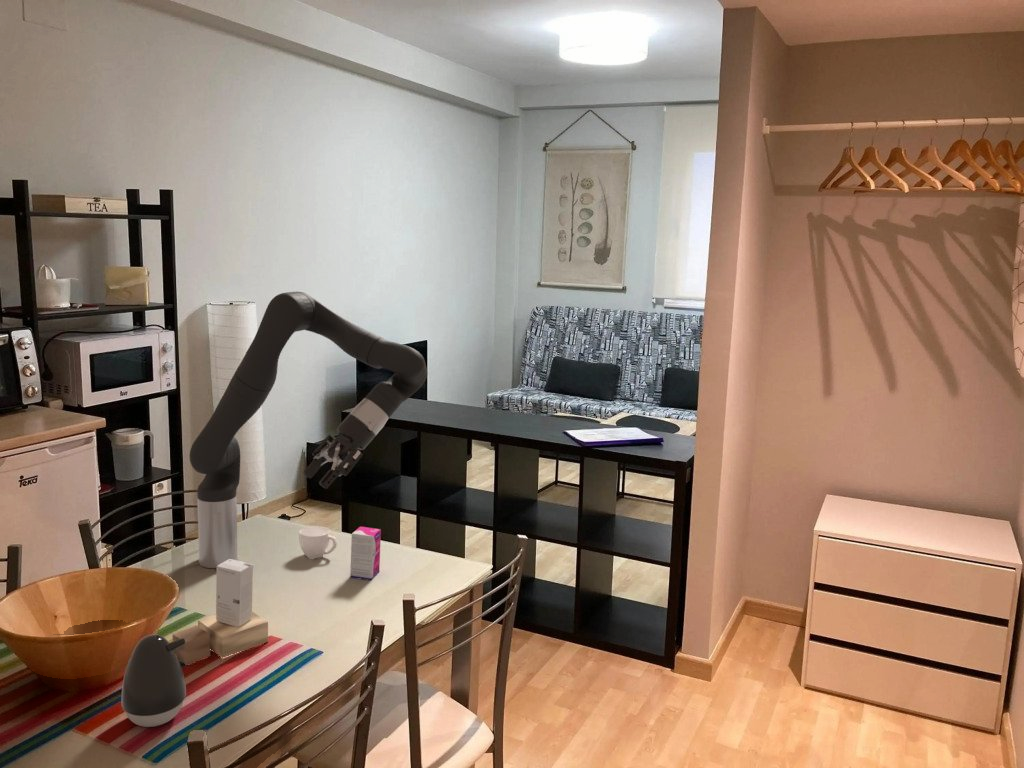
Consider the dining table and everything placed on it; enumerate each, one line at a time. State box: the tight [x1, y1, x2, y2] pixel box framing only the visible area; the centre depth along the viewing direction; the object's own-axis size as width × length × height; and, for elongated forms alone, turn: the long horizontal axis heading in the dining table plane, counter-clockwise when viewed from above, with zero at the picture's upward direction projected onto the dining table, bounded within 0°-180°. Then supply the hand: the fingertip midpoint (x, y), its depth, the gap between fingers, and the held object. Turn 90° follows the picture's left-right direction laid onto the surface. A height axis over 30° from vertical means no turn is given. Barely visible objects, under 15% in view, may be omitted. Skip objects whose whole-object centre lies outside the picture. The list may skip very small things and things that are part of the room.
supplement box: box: [349, 526, 382, 581], centre depth 206 cm, size 6×6×12 cm
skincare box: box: [215, 559, 254, 627], centre depth 169 cm, size 6×4×12 cm
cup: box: [298, 525, 338, 559], centre depth 217 cm, size 8×10×7 cm
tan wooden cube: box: [171, 625, 211, 665], centre depth 164 cm, size 5×5×5 cm
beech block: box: [197, 611, 269, 659], centre depth 171 cm, size 10×10×5 cm
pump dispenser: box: [120, 633, 187, 728], centre depth 142 cm, size 10×10×15 cm
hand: (314, 481), depth 179 cm, fingers open, 8 cm apart
